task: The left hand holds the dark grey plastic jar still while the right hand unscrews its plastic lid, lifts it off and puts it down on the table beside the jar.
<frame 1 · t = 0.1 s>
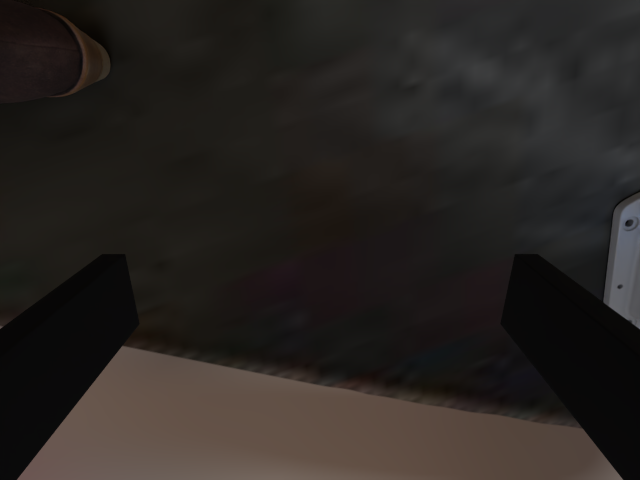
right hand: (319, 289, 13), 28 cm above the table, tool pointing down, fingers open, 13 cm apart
boot: (2, 61, 36), on the table
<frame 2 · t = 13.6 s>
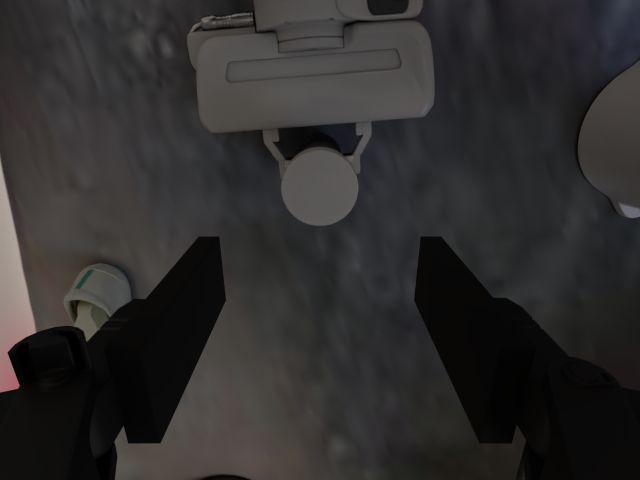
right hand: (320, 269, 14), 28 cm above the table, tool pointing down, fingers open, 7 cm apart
left hand: (320, 175, 35), fingers closed on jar, 4 cm apart
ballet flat: (126, 341, 49), on the table
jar: (319, 156, 41), on the table, touching left hand
lid: (319, 188, 27), point 15 cm above the table, screwed on, not yet turned
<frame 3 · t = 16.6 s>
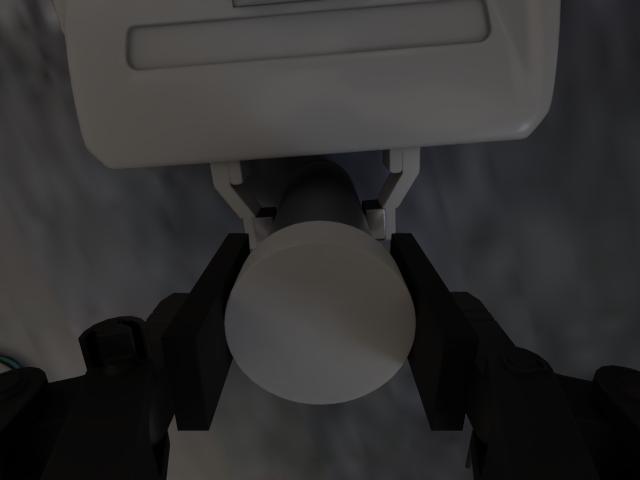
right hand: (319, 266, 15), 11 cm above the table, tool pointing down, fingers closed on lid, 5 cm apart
left hand: (322, 240, 20), fingers closed on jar, 4 cm apart
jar: (320, 195, 25), on the table, touching left hand
lid: (320, 324, 11), point 15 cm above the table, screwed on, not yet turned, touching right hand
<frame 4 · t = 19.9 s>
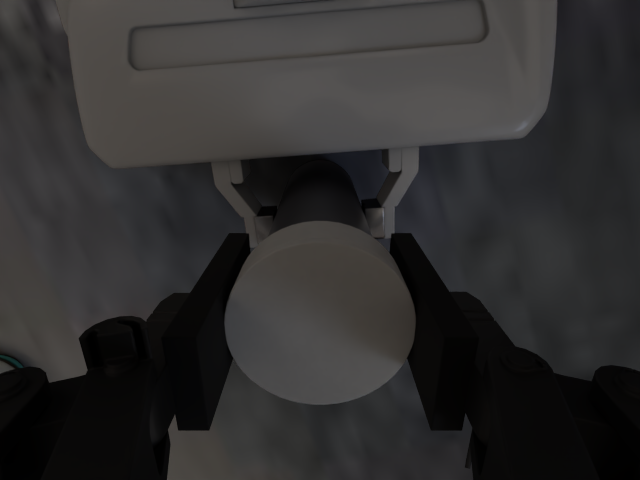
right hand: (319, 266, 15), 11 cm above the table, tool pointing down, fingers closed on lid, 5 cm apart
left hand: (322, 239, 20), fingers closed on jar, 4 cm apart
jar: (320, 194, 25), on the table, touching left hand
lid: (320, 324, 11), point 15 cm above the table, turned 114° so far, risen 0.2 cm, still on its thread, touching right hand
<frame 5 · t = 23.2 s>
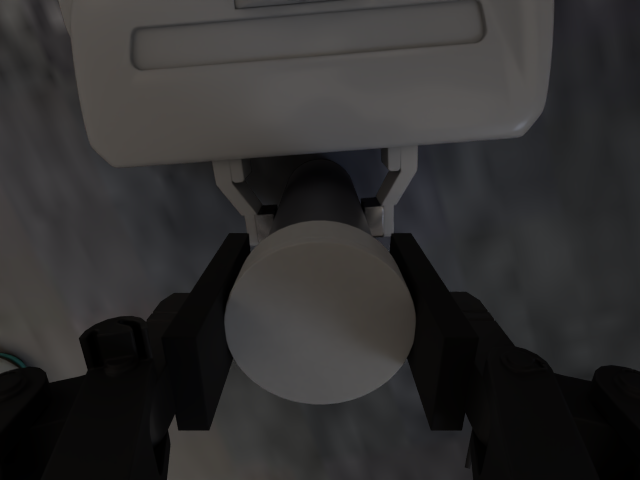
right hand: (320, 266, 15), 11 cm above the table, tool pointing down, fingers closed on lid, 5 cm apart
left hand: (322, 237, 20), fingers closed on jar, 4 cm apart
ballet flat: (39, 452, 34), on the table
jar: (320, 193, 25), on the table, touching left hand
lid: (320, 323, 11), point 15 cm above the table, turned 228° so far, risen 0.4 cm, still on its thread, touching right hand
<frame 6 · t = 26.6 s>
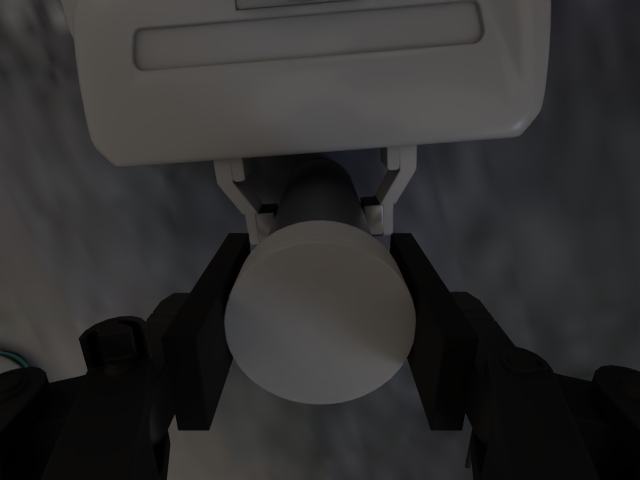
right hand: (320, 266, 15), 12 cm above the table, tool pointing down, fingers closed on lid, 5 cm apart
left hand: (322, 236, 20), fingers closed on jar, 4 cm apart
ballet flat: (41, 450, 34), on the table
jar: (320, 192, 25), on the table, touching left hand
lid: (320, 323, 11), point 16 cm above the table, turned 342° so far, risen 0.6 cm, still on its thread, touching right hand
when the right hand's fingers open (0 cm above the table, at t = 35.2 s): lid drops 3 cm, point 1 cm above the table.
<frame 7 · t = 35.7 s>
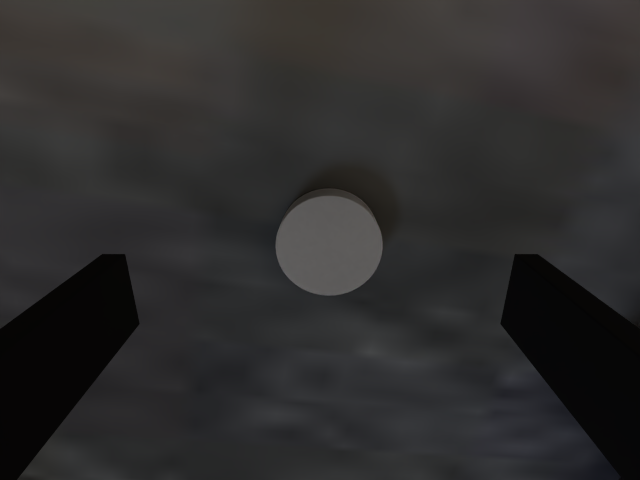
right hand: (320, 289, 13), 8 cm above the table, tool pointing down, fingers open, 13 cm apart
lid: (328, 245, 19), point 1 cm above the table, off its thread
when the left hand's fingers open (6 cm above the table, at t = 35.9 s): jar stays where it is, on the table.
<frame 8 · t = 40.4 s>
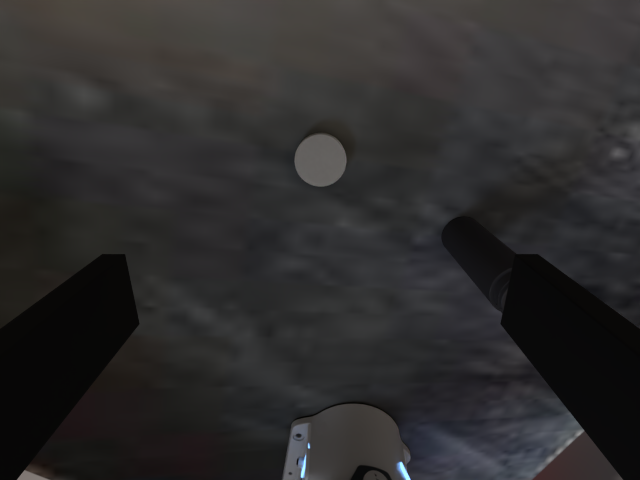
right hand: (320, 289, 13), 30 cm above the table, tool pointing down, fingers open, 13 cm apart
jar: (461, 235, 44), on the table
lid: (320, 160, 39), point 1 cm above the table, off its thread
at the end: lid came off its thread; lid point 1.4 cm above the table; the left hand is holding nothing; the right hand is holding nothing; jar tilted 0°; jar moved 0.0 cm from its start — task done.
